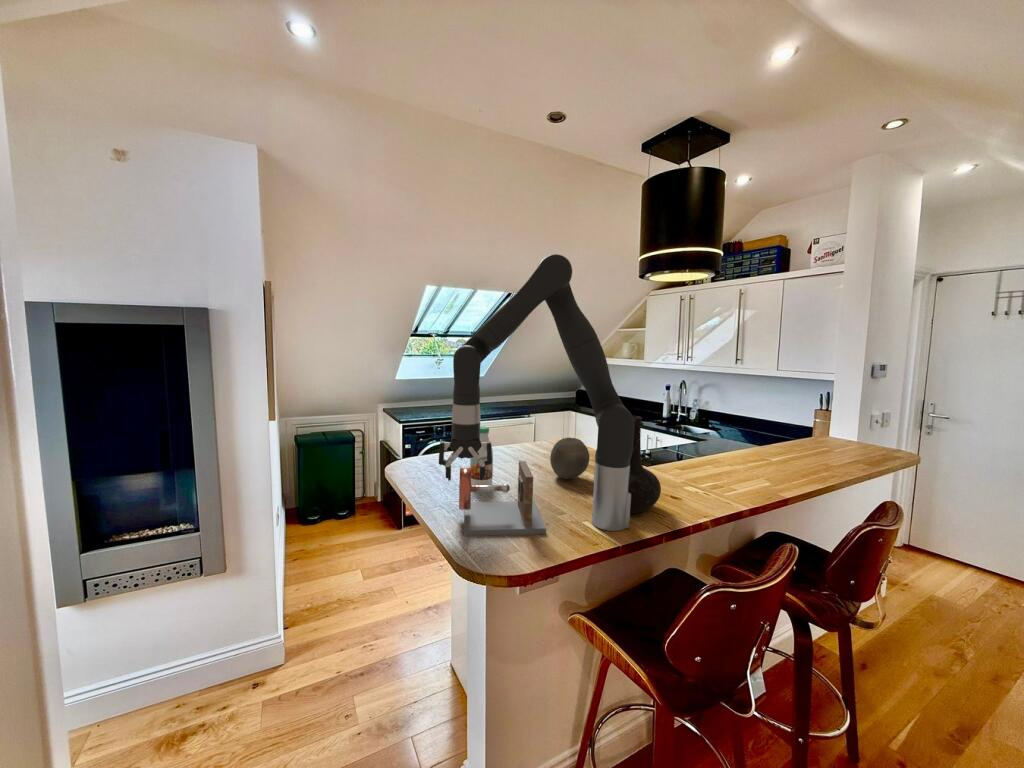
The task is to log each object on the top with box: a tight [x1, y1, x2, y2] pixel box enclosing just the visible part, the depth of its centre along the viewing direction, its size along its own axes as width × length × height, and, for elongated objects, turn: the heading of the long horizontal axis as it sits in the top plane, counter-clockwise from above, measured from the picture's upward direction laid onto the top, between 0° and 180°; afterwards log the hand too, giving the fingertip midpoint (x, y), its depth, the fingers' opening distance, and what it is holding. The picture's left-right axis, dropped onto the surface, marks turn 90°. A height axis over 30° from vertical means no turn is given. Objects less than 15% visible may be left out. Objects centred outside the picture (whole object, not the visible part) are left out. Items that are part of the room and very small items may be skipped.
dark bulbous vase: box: [628, 415, 662, 514], centre depth 124 cm, size 18×18×28 cm
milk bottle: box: [469, 425, 494, 486], centre depth 140 cm, size 8×8×20 cm
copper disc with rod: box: [458, 467, 511, 511], centre depth 113 cm, size 14×11×11 cm
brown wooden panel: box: [517, 460, 534, 525], centre depth 114 cm, size 3×14×13 cm, turn 6°
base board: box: [463, 500, 547, 537], centre depth 114 cm, size 21×18×2 cm
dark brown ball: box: [549, 437, 591, 480], centre depth 149 cm, size 14×14×15 cm
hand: (465, 479), depth 112 cm, fingers open, 8 cm apart
